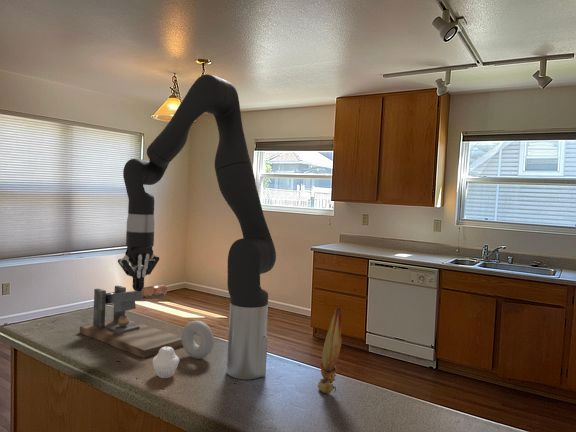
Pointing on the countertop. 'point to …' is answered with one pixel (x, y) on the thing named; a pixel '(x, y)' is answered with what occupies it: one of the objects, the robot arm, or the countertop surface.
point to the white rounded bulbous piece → (165, 362)
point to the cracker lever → (134, 297)
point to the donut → (204, 335)
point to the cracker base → (126, 330)
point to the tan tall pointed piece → (331, 353)
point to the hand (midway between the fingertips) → (138, 290)
